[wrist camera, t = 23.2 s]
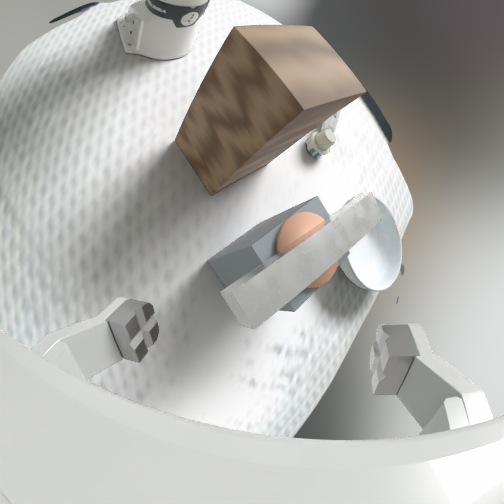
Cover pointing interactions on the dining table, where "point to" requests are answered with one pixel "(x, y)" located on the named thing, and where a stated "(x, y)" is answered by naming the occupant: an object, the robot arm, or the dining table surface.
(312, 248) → the white bar
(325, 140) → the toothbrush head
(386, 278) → the serving bowl
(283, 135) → the stand
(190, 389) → the dining table surface
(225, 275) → the low block
